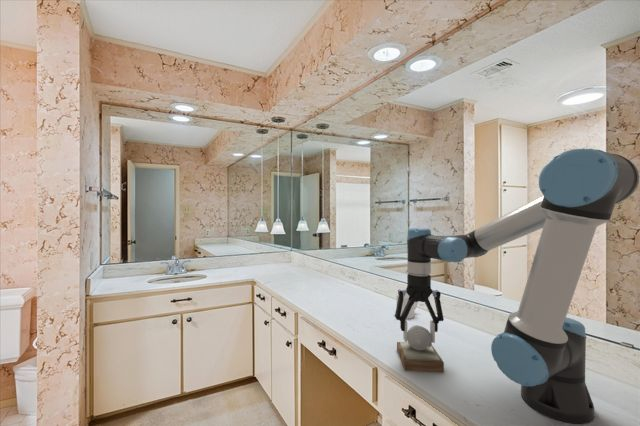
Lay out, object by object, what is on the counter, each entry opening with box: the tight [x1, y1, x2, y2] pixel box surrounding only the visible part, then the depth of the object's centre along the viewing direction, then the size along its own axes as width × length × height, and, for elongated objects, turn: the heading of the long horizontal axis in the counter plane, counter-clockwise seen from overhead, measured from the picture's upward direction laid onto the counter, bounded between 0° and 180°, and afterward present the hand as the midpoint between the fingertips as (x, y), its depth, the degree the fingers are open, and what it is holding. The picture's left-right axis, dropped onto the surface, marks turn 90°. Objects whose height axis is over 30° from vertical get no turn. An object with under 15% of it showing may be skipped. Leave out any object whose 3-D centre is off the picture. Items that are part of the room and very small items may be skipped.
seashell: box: [407, 324, 433, 350], centre depth 104 cm, size 9×11×15 cm
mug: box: [396, 292, 418, 320], centre depth 146 cm, size 12×8×10 cm
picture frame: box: [396, 341, 445, 373], centre depth 102 cm, size 14×12×3 cm
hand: (418, 340), depth 102 cm, fingers closed on seashell, 8 cm apart
